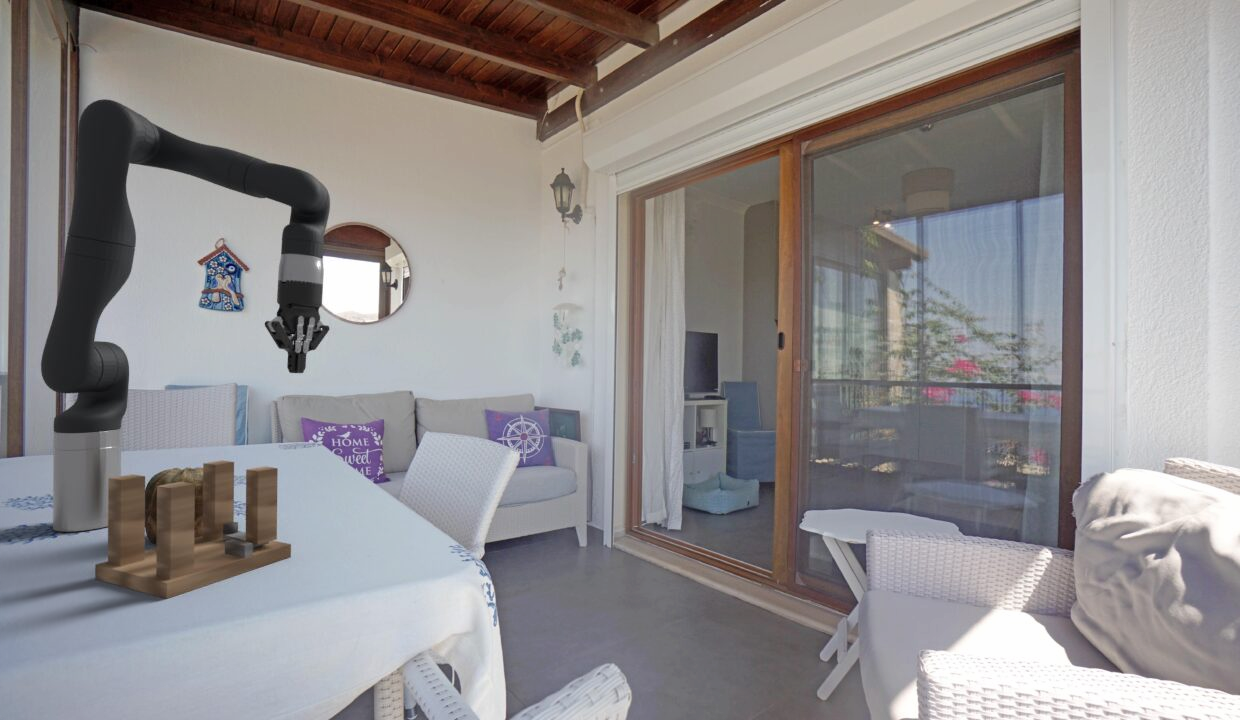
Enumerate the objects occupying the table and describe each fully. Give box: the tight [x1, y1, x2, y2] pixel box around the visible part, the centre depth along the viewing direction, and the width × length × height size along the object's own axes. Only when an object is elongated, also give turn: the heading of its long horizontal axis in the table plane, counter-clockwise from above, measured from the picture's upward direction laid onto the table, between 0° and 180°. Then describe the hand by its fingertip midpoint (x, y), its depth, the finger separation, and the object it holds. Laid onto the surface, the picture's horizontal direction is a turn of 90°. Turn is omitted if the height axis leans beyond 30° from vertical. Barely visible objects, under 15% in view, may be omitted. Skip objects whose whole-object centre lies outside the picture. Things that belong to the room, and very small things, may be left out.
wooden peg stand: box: [94, 459, 292, 600], centre depth 90 cm, size 16×18×14 cm
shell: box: [145, 466, 203, 545], centre depth 104 cm, size 11×11×12 cm
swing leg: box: [223, 465, 279, 548], centre depth 95 cm, size 10×3×12 cm, turn 62°
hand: (296, 372), depth 115 cm, fingers closed
